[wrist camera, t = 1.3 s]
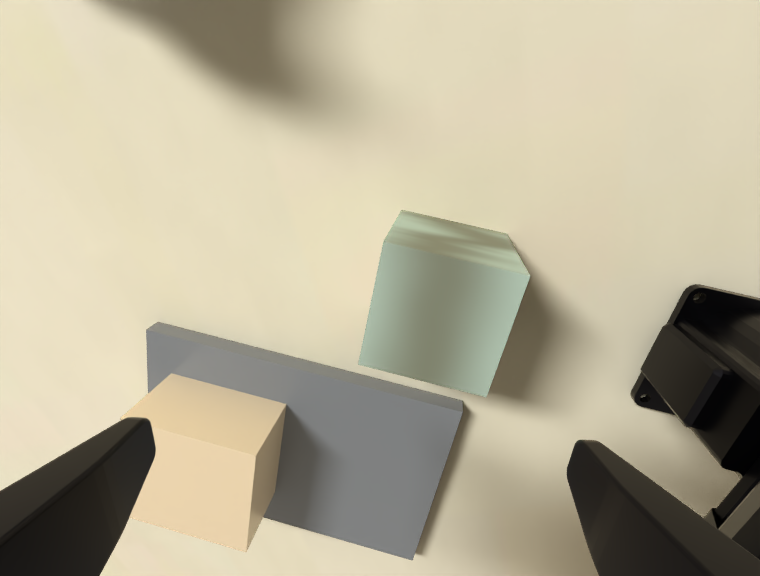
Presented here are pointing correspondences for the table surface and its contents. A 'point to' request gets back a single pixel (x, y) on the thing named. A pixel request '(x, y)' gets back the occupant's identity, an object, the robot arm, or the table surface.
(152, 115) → the table surface
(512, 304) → the sage block
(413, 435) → the build plate
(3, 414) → the table surface
